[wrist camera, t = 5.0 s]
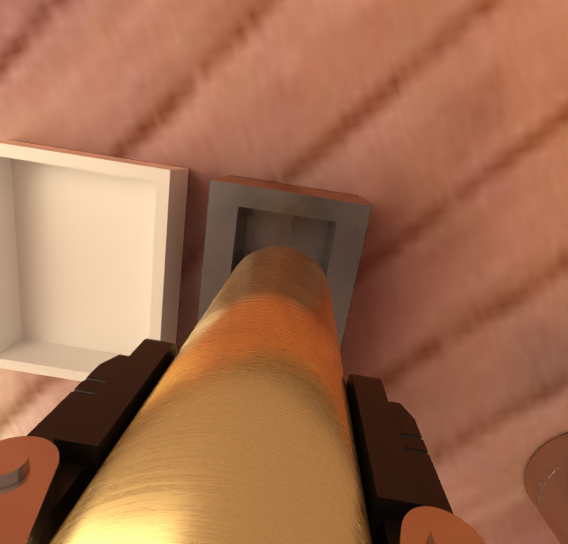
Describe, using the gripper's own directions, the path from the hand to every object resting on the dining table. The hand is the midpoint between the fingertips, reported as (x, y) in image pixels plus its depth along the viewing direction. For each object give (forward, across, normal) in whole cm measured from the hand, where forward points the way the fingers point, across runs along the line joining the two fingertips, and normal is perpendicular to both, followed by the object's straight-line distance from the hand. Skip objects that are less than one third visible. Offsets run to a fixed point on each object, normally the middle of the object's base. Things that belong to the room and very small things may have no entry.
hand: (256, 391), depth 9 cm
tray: (+19, +14, +4) cm, 24 cm away
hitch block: (+19, 0, +5) cm, 19 cm away
